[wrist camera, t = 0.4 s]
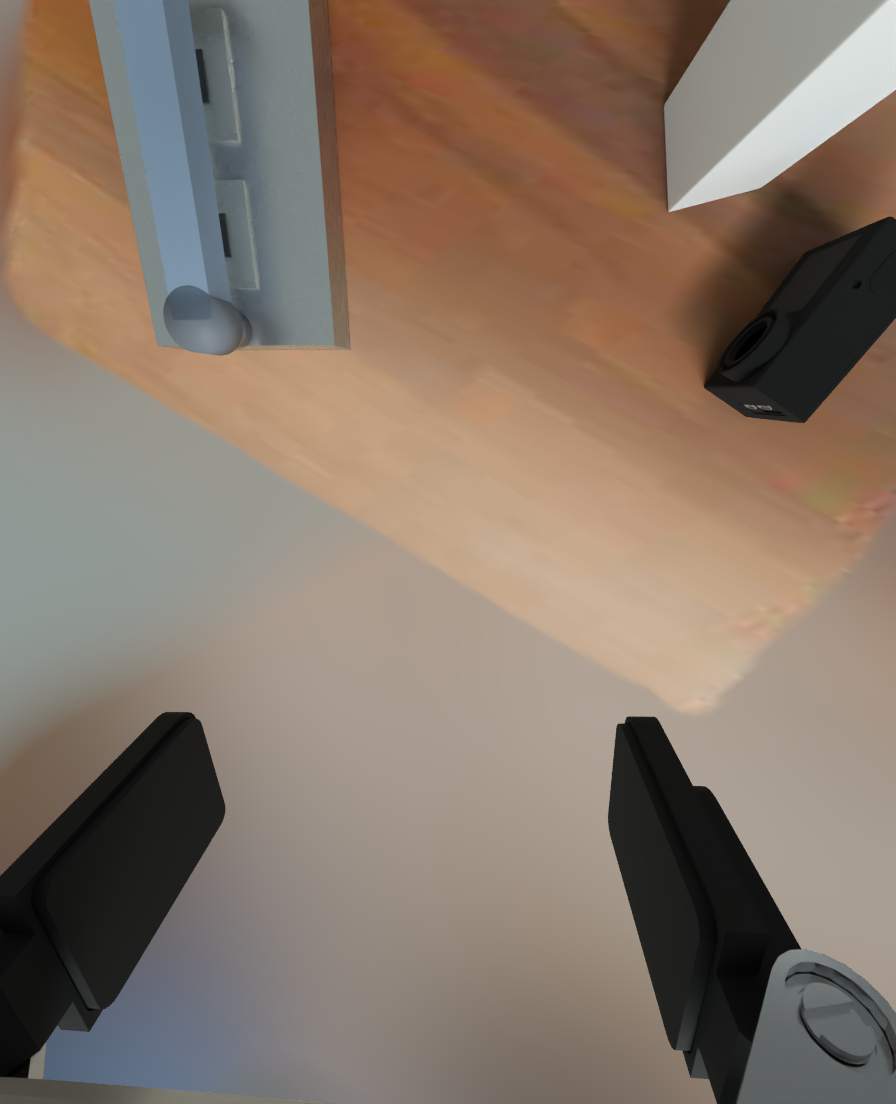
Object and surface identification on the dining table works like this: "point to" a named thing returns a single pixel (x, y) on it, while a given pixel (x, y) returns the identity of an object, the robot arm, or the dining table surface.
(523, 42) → the dining table surface
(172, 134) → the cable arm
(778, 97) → the milk
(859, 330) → the digital camera
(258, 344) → the plate
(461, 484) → the dining table surface
